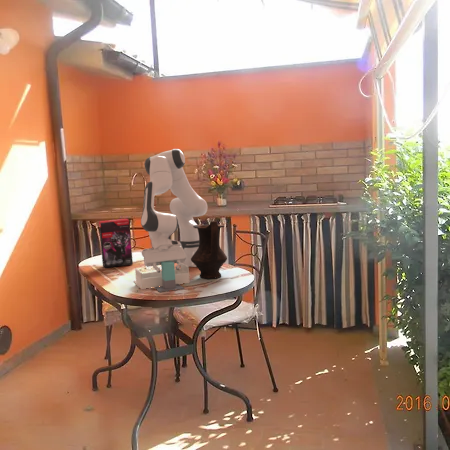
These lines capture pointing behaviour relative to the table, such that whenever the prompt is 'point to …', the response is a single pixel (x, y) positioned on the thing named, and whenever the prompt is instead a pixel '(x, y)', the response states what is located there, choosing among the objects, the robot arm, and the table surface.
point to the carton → (160, 277)
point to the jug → (209, 251)
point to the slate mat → (168, 289)
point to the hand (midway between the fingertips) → (168, 270)
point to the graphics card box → (115, 243)
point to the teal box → (168, 275)
